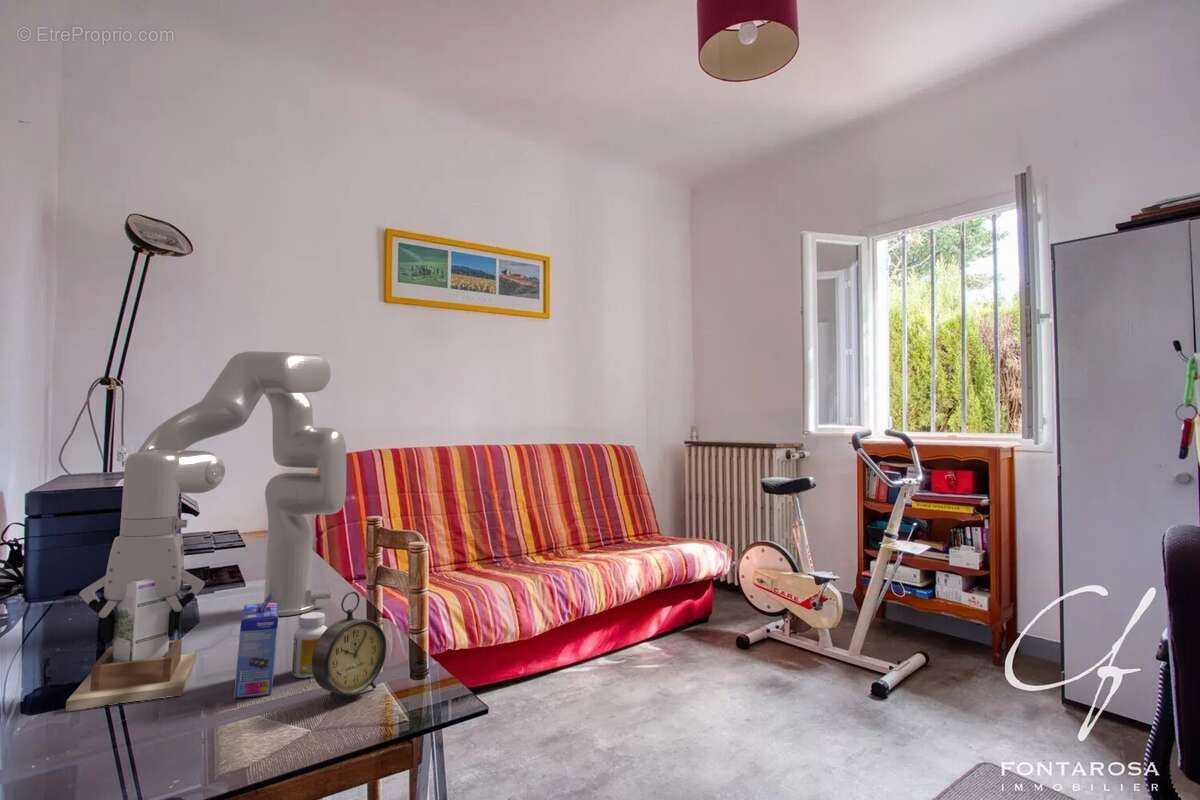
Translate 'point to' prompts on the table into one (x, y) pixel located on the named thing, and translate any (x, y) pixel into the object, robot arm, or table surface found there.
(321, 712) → the table surface
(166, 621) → the syrup box
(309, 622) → the supplement bottle
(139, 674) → the desk stand
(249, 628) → the ink cartridge box
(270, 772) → the table surface
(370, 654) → the alarm clock
